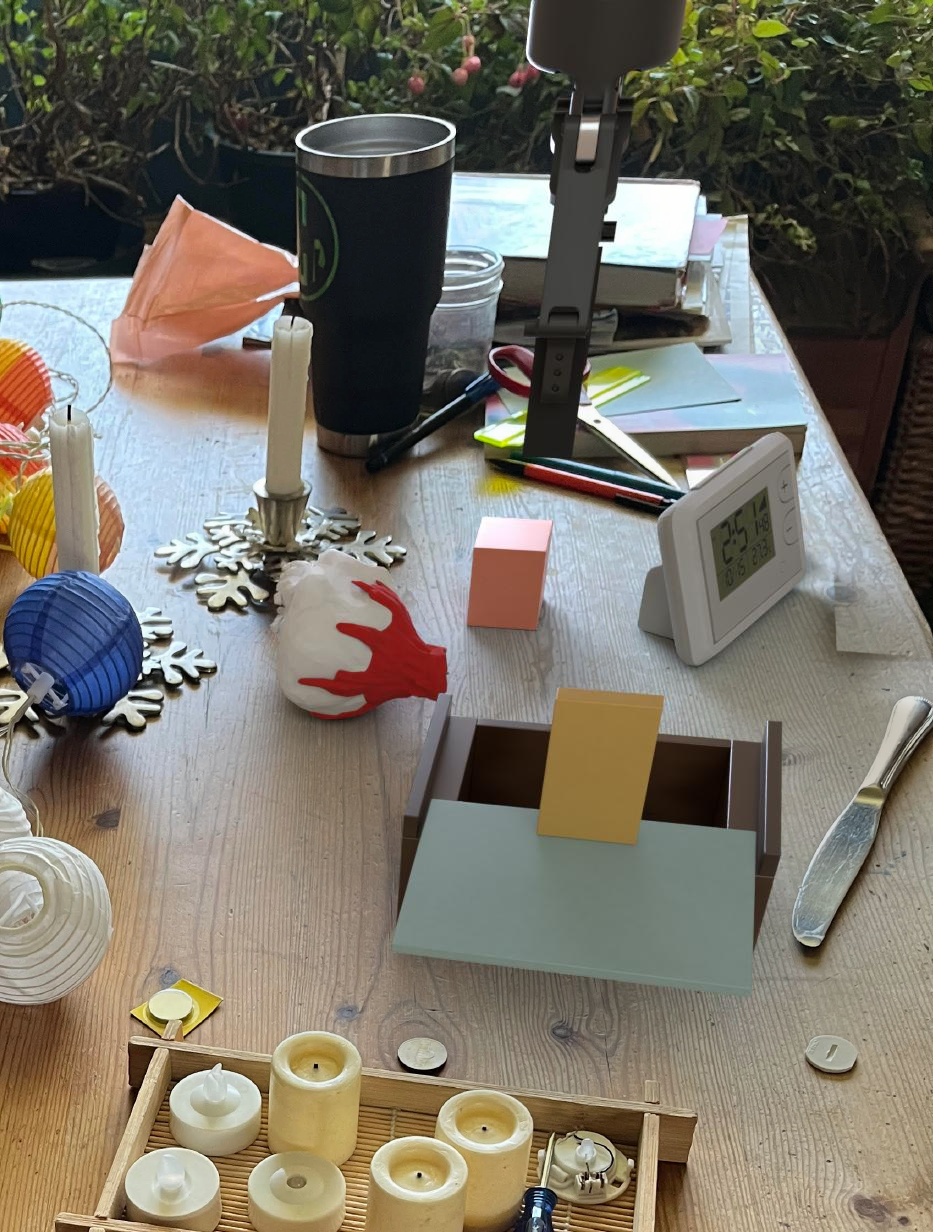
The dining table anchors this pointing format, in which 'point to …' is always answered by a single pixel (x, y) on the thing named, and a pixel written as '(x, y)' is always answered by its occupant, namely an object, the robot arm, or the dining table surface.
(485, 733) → the case
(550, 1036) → the dining table surface
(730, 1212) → the dining table surface
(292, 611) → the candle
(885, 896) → the dining table surface
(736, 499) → the digital clock
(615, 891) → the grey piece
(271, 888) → the dining table surface
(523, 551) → the block
